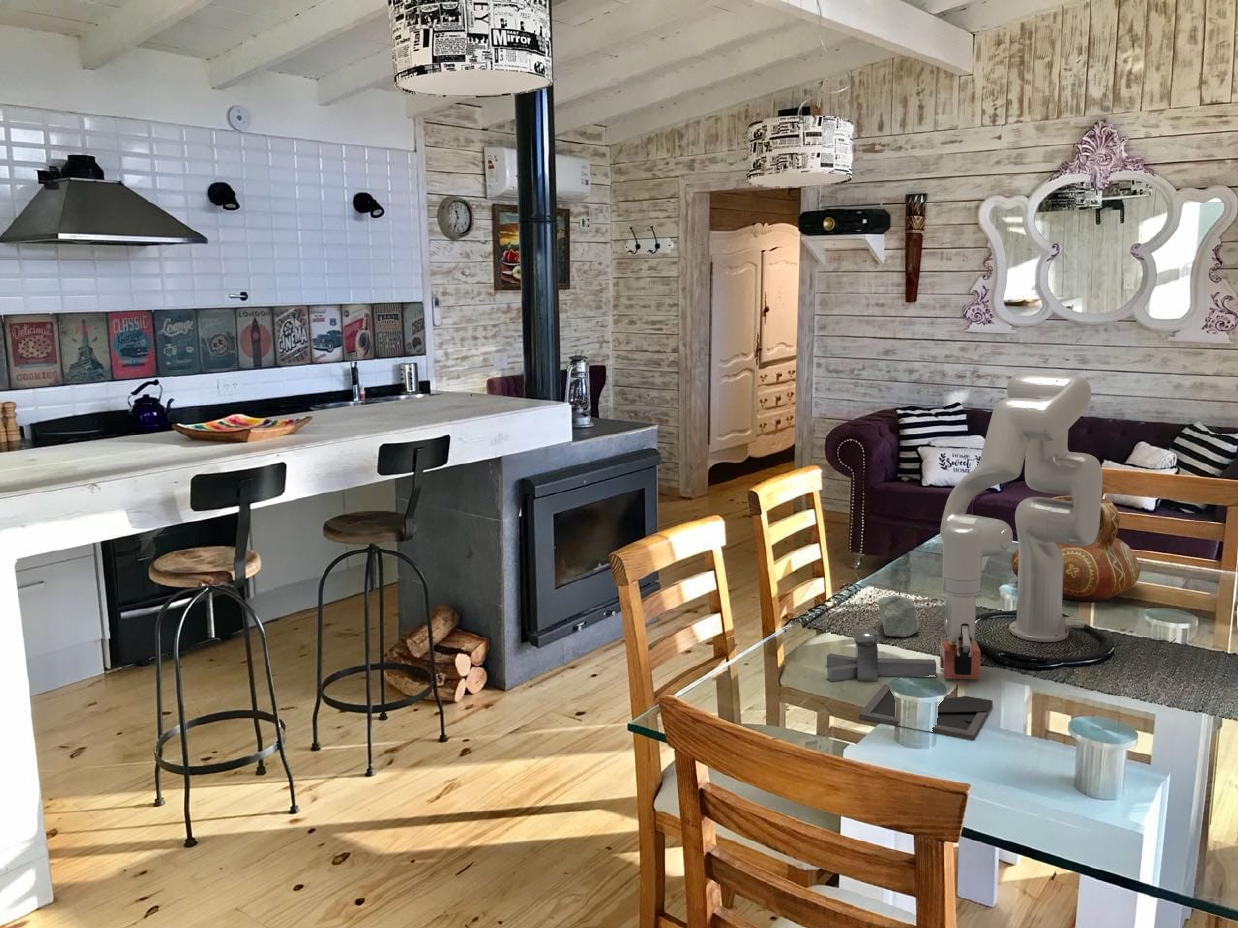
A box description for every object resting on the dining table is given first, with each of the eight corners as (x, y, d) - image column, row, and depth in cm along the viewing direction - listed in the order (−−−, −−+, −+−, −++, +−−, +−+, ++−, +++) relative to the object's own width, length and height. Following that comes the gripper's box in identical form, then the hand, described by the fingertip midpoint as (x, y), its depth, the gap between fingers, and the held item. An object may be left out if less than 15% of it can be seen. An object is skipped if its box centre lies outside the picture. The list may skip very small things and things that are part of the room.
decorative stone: (910, 644, 234) (929, 605, 236) (865, 622, 238) (884, 584, 240) (909, 653, 246) (927, 616, 248) (866, 632, 250) (885, 595, 252)
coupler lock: (974, 666, 218) (975, 636, 217) (979, 678, 212) (980, 647, 211) (940, 666, 219) (940, 635, 218) (944, 677, 213) (944, 646, 212)
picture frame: (992, 710, 200) (884, 691, 211) (992, 700, 200) (884, 682, 211) (973, 743, 187) (859, 721, 197) (974, 733, 186) (859, 711, 197)
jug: (989, 592, 269) (992, 497, 264) (1045, 567, 288) (1048, 478, 284) (1106, 617, 247) (1111, 515, 242) (1158, 589, 266) (1164, 493, 261)
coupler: (932, 666, 221) (933, 625, 220) (938, 684, 212) (939, 642, 210) (826, 663, 225) (826, 623, 223) (827, 681, 215) (827, 640, 214)
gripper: (937, 571, 221) (935, 651, 224) (948, 597, 204) (947, 683, 208) (973, 572, 220) (972, 652, 223) (988, 597, 203) (986, 684, 206)
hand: (960, 666), depth 215 cm, fingers closed on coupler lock, 6 cm apart
